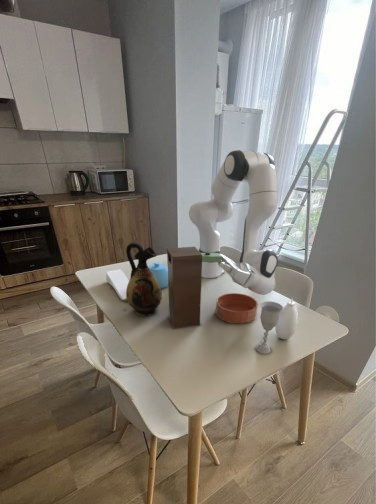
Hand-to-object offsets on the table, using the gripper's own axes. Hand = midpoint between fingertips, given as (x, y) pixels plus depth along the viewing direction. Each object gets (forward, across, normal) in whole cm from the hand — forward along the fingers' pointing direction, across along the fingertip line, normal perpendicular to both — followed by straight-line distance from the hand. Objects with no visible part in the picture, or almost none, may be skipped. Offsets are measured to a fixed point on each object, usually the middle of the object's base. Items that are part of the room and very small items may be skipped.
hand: (215, 259), depth 111 cm
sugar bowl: (+2, -40, +31) cm, 51 cm away
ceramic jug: (+11, -13, +36) cm, 40 cm away
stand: (-2, 0, +29) cm, 29 cm away
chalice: (-23, +27, +17) cm, 39 cm away
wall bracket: (+18, -37, +40) cm, 58 cm away
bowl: (-23, 0, +17) cm, 28 cm away
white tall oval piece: (-32, +22, +11) cm, 41 cm away
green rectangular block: (+4, 0, +2) cm, 5 cm away
